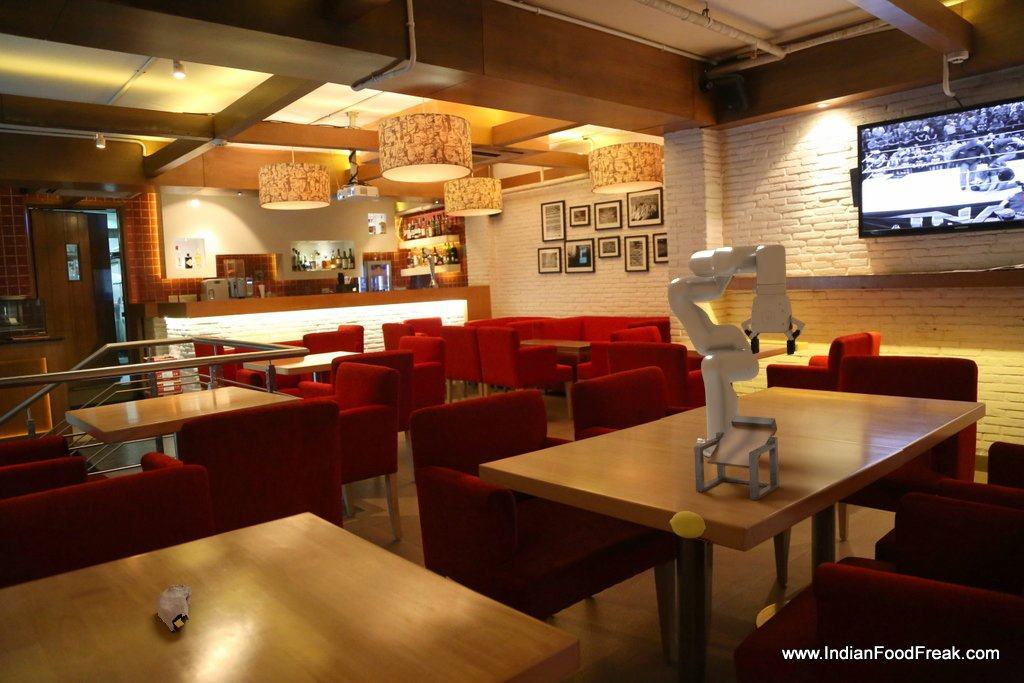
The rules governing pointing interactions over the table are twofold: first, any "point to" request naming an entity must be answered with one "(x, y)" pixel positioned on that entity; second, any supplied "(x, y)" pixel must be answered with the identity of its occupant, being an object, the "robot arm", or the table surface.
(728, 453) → the trapdoor
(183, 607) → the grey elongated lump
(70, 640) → the table surface
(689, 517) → the lemon
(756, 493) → the frame
